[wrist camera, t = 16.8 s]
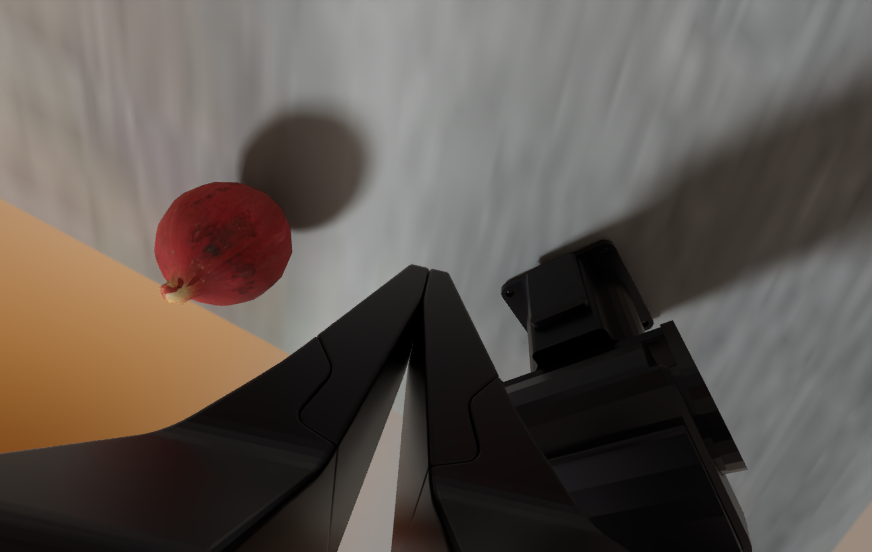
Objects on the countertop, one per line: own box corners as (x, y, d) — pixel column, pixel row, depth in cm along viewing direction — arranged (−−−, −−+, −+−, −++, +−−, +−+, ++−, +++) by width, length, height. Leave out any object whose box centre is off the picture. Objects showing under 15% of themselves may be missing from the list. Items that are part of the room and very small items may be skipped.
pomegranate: (248, 135, 22) (140, 204, 15) (334, 216, 24) (272, 308, 17) (192, 202, 24) (79, 285, 18) (274, 270, 26) (200, 367, 20)
